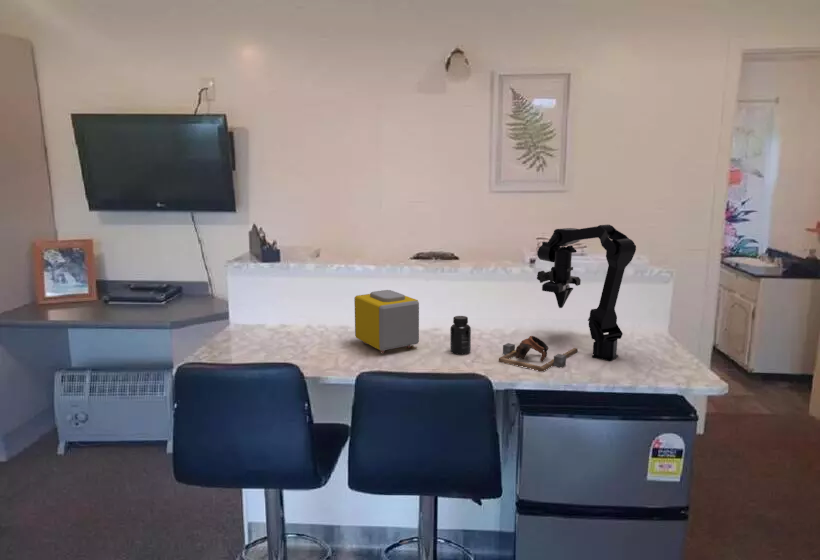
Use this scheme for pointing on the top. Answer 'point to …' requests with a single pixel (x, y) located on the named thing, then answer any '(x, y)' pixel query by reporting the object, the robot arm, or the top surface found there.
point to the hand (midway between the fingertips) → (560, 307)
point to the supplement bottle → (460, 336)
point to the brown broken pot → (532, 341)
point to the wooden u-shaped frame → (510, 352)
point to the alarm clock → (386, 319)
